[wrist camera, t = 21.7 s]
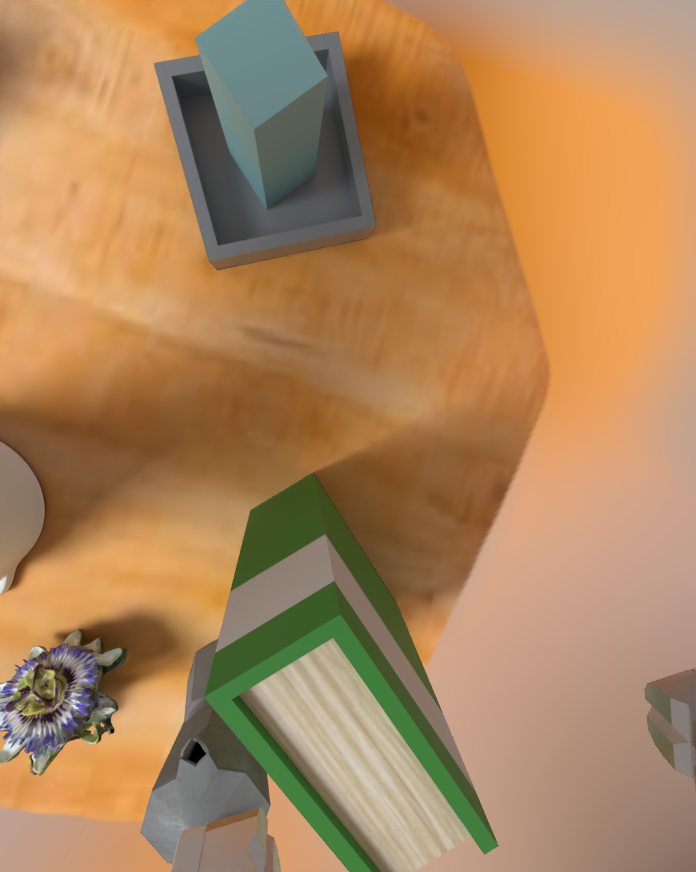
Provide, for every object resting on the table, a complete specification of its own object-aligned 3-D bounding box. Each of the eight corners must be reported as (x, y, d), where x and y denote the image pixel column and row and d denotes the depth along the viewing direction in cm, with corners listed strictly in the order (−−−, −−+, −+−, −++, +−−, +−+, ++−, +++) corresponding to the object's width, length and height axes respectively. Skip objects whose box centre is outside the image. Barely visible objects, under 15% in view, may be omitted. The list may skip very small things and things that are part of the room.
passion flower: (101, 606, 49) (121, 626, 40) (131, 696, 49) (159, 736, 40) (-27, 665, 42) (-38, 705, 32) (10, 768, 42) (9, 838, 33)
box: (217, 270, 39) (208, 261, 35) (168, 94, 36) (153, 63, 32) (367, 238, 40) (376, 226, 36) (333, 65, 37) (338, 31, 33)
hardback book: (396, 602, 48) (498, 845, 24) (338, 637, 48) (385, 915, 24) (313, 472, 43) (340, 614, 20) (250, 510, 43) (204, 697, 20)
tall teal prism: (267, 209, 37) (253, 129, 24) (230, 155, 36) (194, 38, 23) (314, 176, 37) (327, 75, 24) (279, 120, 36) (272, -19, 22)
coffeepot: (177, 625, 45) (104, 802, 27) (268, 610, 46) (255, 772, 28) (200, 747, 48) (149, 976, 30) (285, 731, 49) (283, 943, 31)
